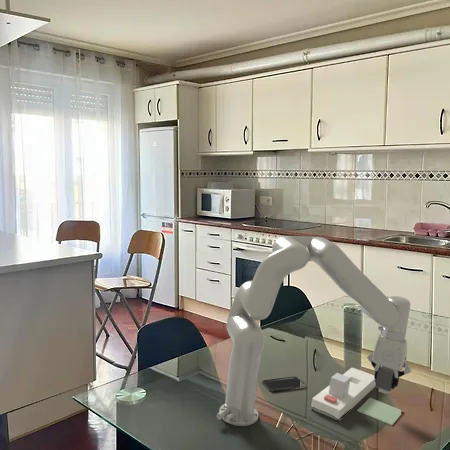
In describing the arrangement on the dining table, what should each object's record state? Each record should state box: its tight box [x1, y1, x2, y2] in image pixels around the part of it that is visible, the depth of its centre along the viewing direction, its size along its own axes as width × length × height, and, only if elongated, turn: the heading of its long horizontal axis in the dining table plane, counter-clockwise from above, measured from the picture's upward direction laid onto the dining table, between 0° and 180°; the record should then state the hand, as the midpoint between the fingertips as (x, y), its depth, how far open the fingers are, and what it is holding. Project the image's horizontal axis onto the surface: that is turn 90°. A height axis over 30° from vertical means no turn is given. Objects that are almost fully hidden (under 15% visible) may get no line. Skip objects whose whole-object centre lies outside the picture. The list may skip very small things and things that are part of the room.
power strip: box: [310, 367, 376, 419], centre depth 179 cm, size 34×10×5 cm, turn 144°
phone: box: [261, 376, 305, 394], centre depth 184 cm, size 8×1×15 cm
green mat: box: [356, 397, 402, 426], centre depth 172 cm, size 12×12×1 cm
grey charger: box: [329, 372, 350, 399], centre depth 173 cm, size 5×5×8 cm
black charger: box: [375, 366, 395, 395], centre depth 170 cm, size 5×5×8 cm
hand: (385, 383), depth 171 cm, fingers closed on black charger, 5 cm apart
